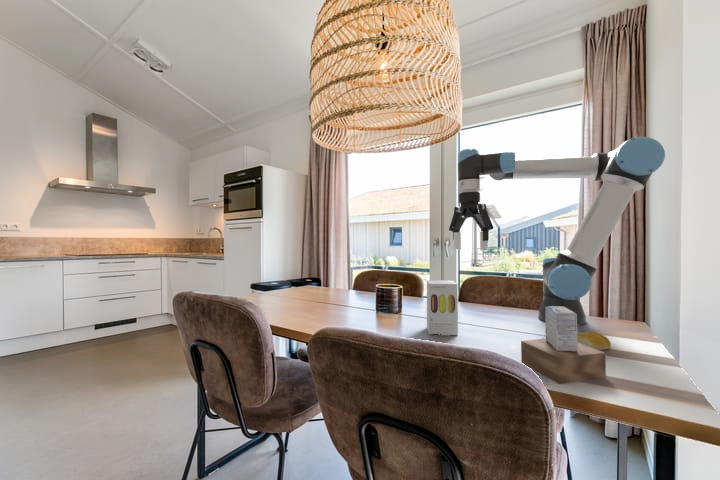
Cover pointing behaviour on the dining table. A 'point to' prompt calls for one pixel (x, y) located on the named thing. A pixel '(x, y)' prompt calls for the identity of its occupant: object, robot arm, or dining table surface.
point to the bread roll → (594, 340)
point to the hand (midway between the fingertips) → (470, 249)
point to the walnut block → (563, 362)
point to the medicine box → (561, 328)
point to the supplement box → (442, 307)
